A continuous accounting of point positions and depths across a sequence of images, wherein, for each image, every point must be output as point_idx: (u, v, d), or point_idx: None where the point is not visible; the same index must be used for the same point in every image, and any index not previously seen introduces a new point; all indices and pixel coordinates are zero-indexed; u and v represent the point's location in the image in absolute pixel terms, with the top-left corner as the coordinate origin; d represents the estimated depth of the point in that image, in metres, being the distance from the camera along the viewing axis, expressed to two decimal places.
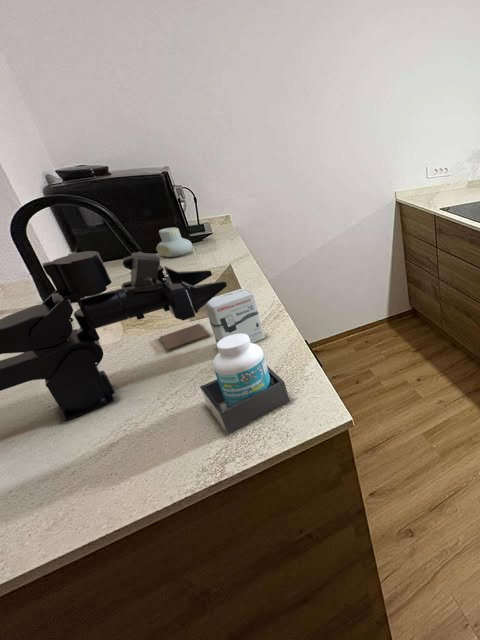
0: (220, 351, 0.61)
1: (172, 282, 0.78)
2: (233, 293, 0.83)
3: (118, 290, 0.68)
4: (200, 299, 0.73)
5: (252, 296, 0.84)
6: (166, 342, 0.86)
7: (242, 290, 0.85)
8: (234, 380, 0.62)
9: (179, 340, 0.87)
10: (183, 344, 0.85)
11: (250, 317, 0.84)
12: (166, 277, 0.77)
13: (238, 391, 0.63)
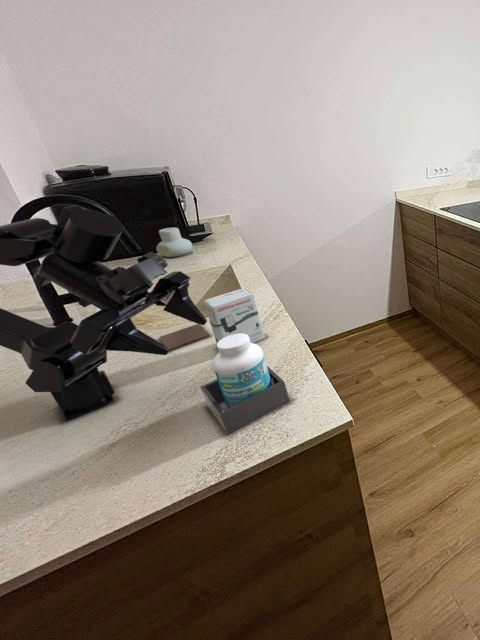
0: (220, 350, 0.61)
1: (170, 299, 0.66)
2: (233, 293, 0.83)
3: (99, 270, 0.58)
4: (123, 344, 0.57)
5: (252, 296, 0.84)
6: (166, 342, 0.86)
7: (242, 290, 0.85)
8: (234, 380, 0.62)
9: (179, 340, 0.87)
10: (183, 344, 0.85)
11: (250, 317, 0.84)
12: (171, 291, 0.66)
13: (238, 391, 0.63)
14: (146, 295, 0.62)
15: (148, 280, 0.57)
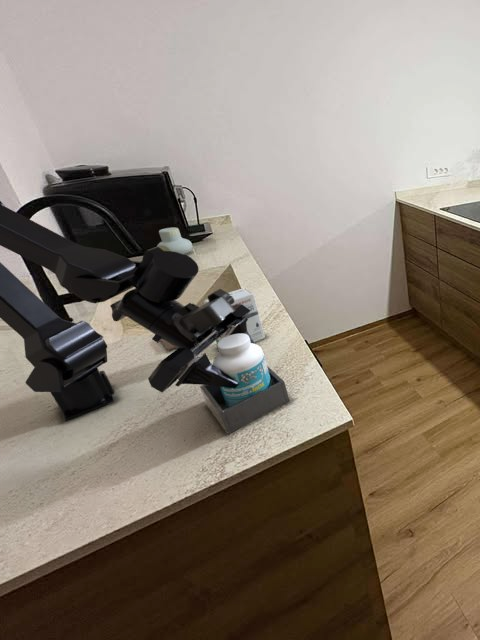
0: (220, 350, 0.61)
1: (230, 334, 0.67)
2: (233, 293, 0.83)
3: (173, 307, 0.60)
4: (198, 377, 0.59)
5: (252, 296, 0.84)
6: (166, 342, 0.86)
7: (242, 290, 0.85)
8: None
9: None
10: None
11: (250, 317, 0.84)
12: (231, 327, 0.67)
13: (239, 391, 0.63)
14: (212, 330, 0.64)
15: (220, 320, 0.59)
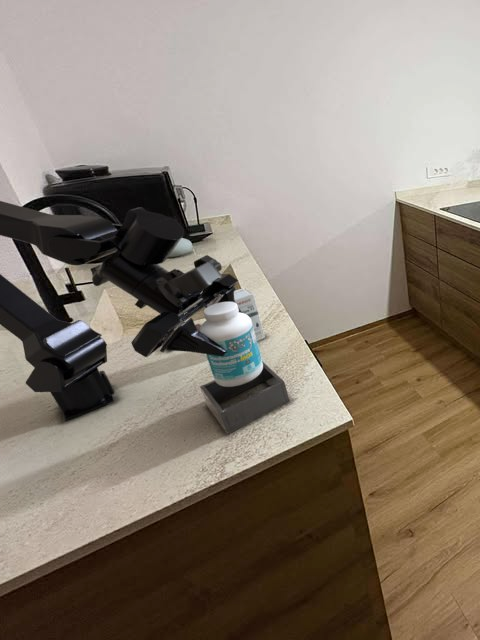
0: (207, 317, 0.59)
1: None
2: None
3: (158, 272, 0.58)
4: (184, 344, 0.57)
5: (252, 296, 0.84)
6: None
7: (242, 290, 0.85)
8: None
9: None
10: None
11: (250, 317, 0.84)
12: (218, 296, 0.65)
13: (226, 360, 0.61)
14: (199, 298, 0.63)
15: (207, 284, 0.57)
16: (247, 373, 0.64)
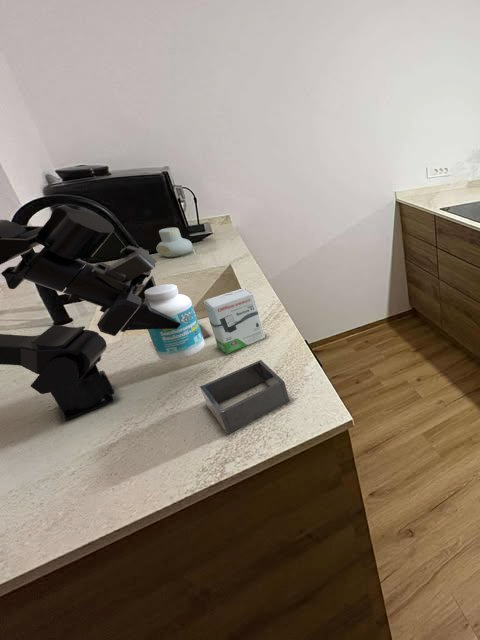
0: (153, 297, 0.66)
1: (140, 292, 0.70)
2: (233, 293, 0.83)
3: (88, 265, 0.62)
4: (140, 322, 0.64)
5: (252, 296, 0.84)
6: None
7: (242, 290, 0.85)
8: None
9: None
10: None
11: (250, 317, 0.84)
12: (141, 285, 0.70)
13: (180, 332, 0.69)
14: None
15: (153, 266, 0.65)
16: (197, 343, 0.73)
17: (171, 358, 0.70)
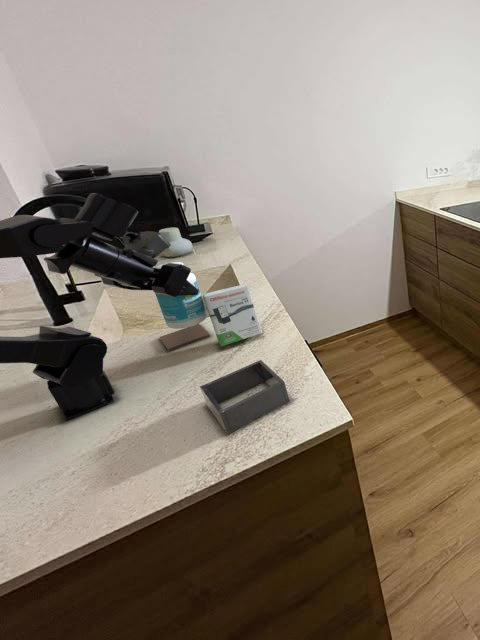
0: None
1: None
2: (231, 288, 0.86)
3: (116, 247, 0.69)
4: None
5: (246, 288, 0.85)
6: (166, 342, 0.86)
7: (240, 285, 0.88)
8: None
9: (179, 340, 0.87)
10: (183, 344, 0.85)
11: (245, 310, 0.85)
12: None
13: (197, 298, 0.82)
14: None
15: (169, 243, 0.77)
16: (205, 309, 0.85)
17: (191, 323, 0.81)
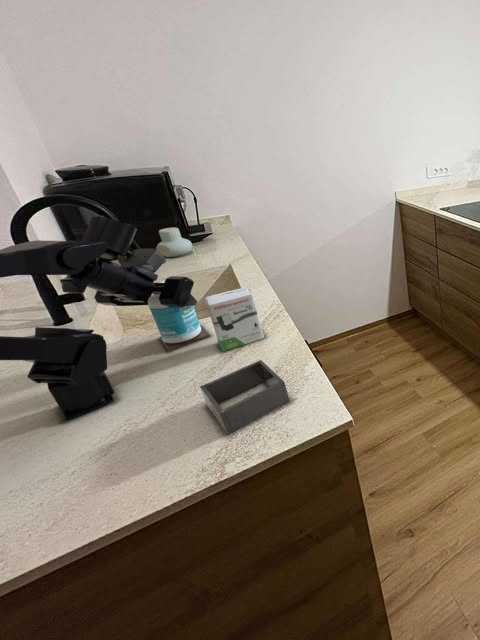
0: None
1: None
2: (234, 292, 0.84)
3: None
4: None
5: (251, 296, 0.84)
6: None
7: (244, 289, 0.85)
8: None
9: None
10: (183, 344, 0.85)
11: (248, 317, 0.84)
12: None
13: (193, 313, 0.87)
14: None
15: (164, 258, 0.81)
16: (198, 322, 0.90)
17: (190, 337, 0.86)
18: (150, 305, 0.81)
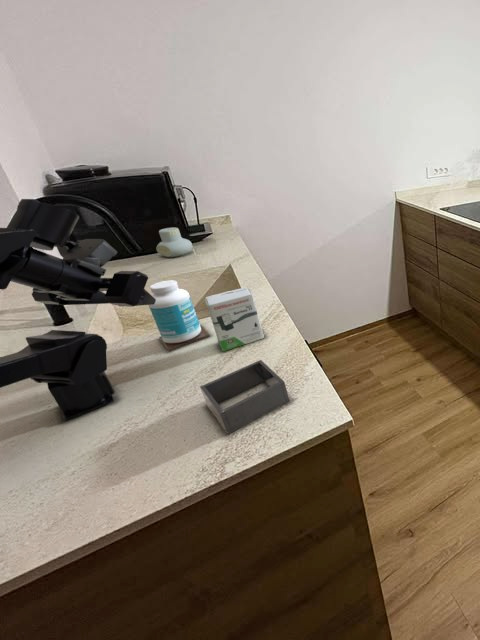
0: (169, 288, 0.82)
1: None
2: (234, 292, 0.84)
3: (57, 257, 0.63)
4: None
5: (251, 296, 0.84)
6: None
7: (244, 289, 0.85)
8: (189, 304, 0.86)
9: None
10: (183, 344, 0.85)
11: (248, 317, 0.84)
12: None
13: (193, 313, 0.87)
14: None
15: (115, 250, 0.71)
16: None
17: (190, 337, 0.86)
18: (150, 305, 0.81)
